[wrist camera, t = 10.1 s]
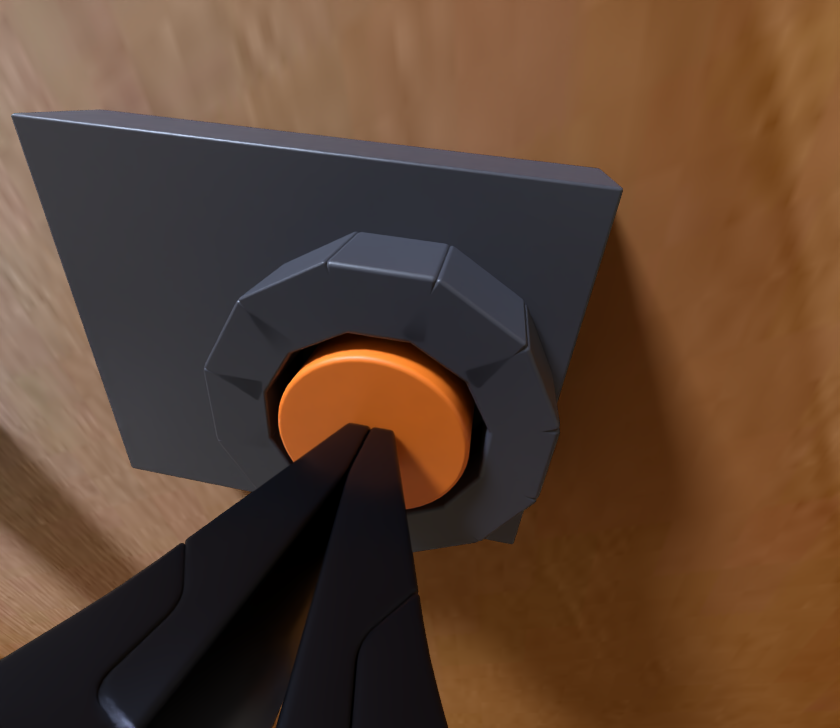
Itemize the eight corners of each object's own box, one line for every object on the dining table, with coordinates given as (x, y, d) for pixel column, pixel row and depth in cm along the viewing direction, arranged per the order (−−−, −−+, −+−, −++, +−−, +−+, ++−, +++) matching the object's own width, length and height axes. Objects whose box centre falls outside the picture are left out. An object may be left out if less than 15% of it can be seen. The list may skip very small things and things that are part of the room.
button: (489, 328, 9) (484, 378, 7) (463, 466, 10) (455, 527, 9) (307, 300, 9) (267, 341, 7) (314, 438, 11) (283, 493, 9)
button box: (601, 168, 9) (655, 213, 6) (512, 484, 14) (514, 611, 10) (100, 109, 10) (-105, 118, 7) (178, 421, 15) (80, 517, 11)
